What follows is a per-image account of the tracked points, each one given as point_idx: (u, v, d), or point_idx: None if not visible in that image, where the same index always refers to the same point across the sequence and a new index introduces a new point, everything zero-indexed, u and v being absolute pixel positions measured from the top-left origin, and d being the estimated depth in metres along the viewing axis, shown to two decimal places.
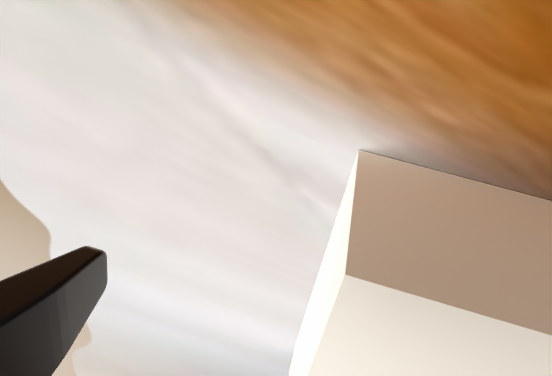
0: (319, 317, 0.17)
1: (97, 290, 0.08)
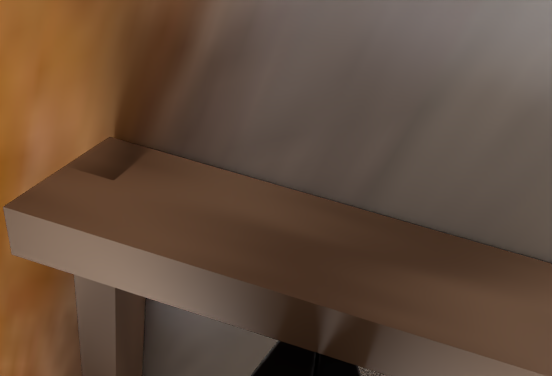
0: None
1: None
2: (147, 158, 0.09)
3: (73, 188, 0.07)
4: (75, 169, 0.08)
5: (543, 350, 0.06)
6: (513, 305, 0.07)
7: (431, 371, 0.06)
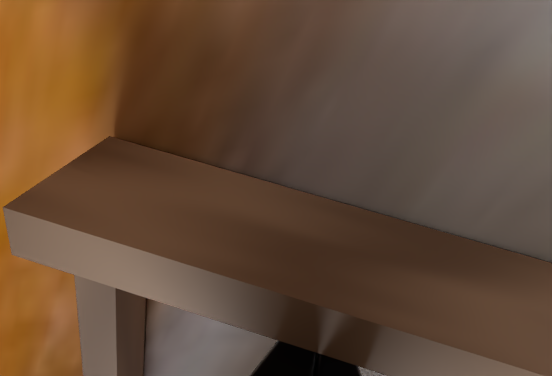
0: None
1: None
2: (147, 157, 0.09)
3: (73, 188, 0.07)
4: (75, 169, 0.08)
5: (543, 350, 0.06)
6: (513, 306, 0.07)
7: (431, 371, 0.06)
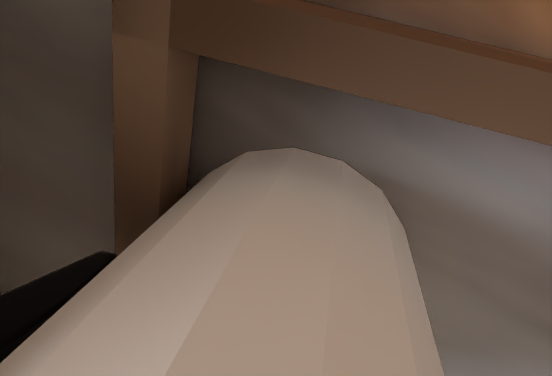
0: None
1: None
2: None
3: None
4: None
5: None
6: None
7: None
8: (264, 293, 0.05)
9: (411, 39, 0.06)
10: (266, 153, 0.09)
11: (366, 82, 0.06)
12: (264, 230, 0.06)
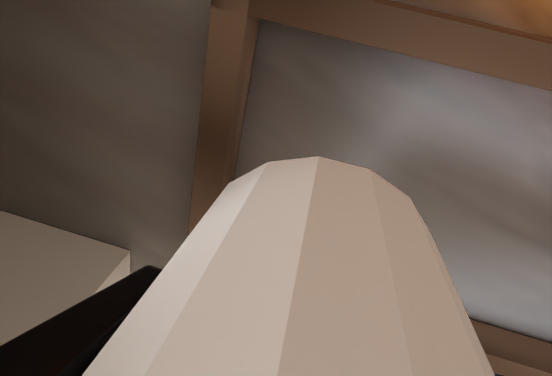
0: None
1: None
2: None
3: None
4: None
5: None
6: None
7: None
8: (338, 332, 0.04)
9: (400, 8, 0.10)
10: (291, 162, 0.09)
11: (372, 36, 0.10)
12: (317, 255, 0.05)
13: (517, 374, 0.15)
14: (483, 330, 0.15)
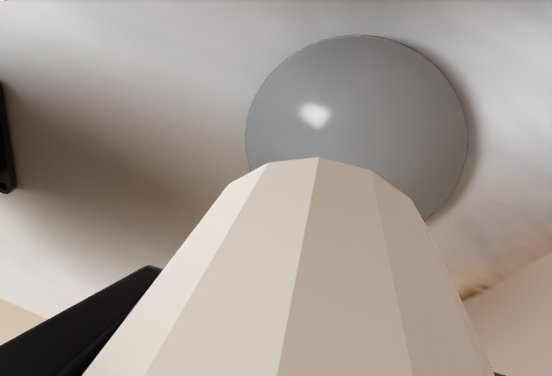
0: None
1: None
2: None
3: None
4: None
5: None
6: None
7: None
8: (338, 335, 0.04)
9: None
10: (291, 163, 0.09)
11: None
12: (317, 257, 0.05)
13: None
14: None
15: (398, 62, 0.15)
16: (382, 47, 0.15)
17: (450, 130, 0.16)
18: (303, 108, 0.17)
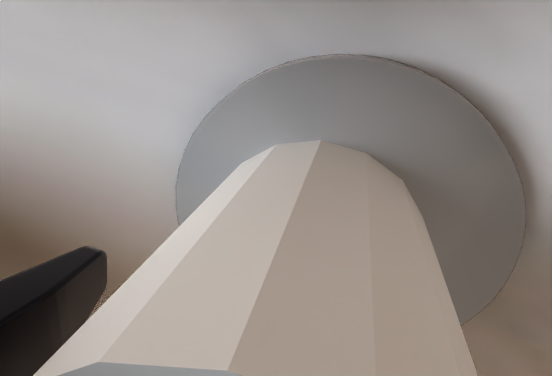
0: None
1: (97, 290, 0.08)
2: None
3: None
4: None
5: None
6: None
7: None
8: (316, 261, 0.05)
9: None
10: (296, 145, 0.10)
11: None
12: (307, 210, 0.06)
13: None
14: None
15: (410, 99, 0.09)
16: (383, 75, 0.09)
17: (497, 207, 0.10)
18: None
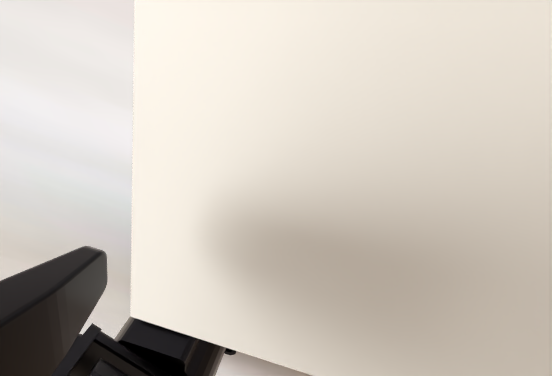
0: None
1: (97, 290, 0.08)
2: None
3: None
4: None
5: None
6: None
7: None
8: None
9: None
10: None
11: None
12: None
13: None
14: None
15: None
16: None
17: None
18: None
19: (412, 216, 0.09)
